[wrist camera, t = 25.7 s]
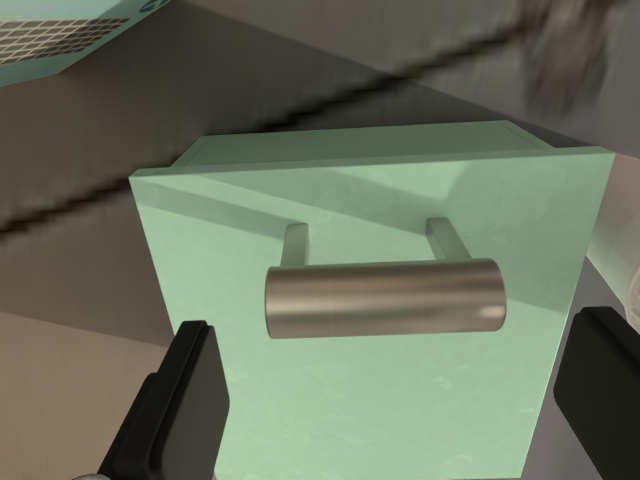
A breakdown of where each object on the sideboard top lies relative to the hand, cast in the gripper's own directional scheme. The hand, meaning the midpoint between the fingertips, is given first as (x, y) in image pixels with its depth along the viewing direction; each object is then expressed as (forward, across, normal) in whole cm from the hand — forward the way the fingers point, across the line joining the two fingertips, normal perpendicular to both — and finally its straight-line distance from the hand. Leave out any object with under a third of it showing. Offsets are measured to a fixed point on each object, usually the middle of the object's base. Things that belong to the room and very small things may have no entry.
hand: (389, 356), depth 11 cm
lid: (+5, 0, +4) cm, 6 cm away
